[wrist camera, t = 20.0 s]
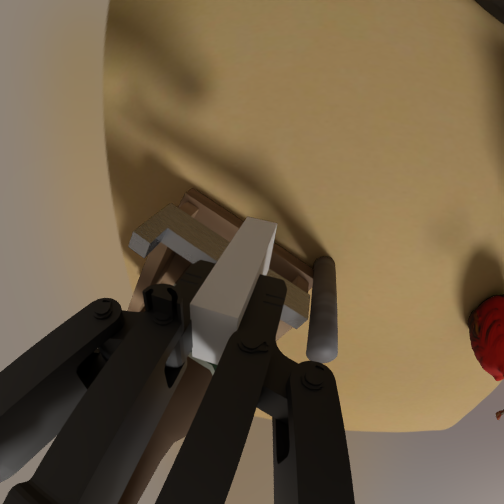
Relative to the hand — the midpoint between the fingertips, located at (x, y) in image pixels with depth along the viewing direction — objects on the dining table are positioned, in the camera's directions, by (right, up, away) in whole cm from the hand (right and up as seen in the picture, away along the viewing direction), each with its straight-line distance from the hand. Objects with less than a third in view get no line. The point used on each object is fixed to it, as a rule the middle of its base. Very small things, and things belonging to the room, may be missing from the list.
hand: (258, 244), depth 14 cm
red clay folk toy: (+28, -8, +9) cm, 30 cm away
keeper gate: (-1, -1, +5) cm, 5 cm away
